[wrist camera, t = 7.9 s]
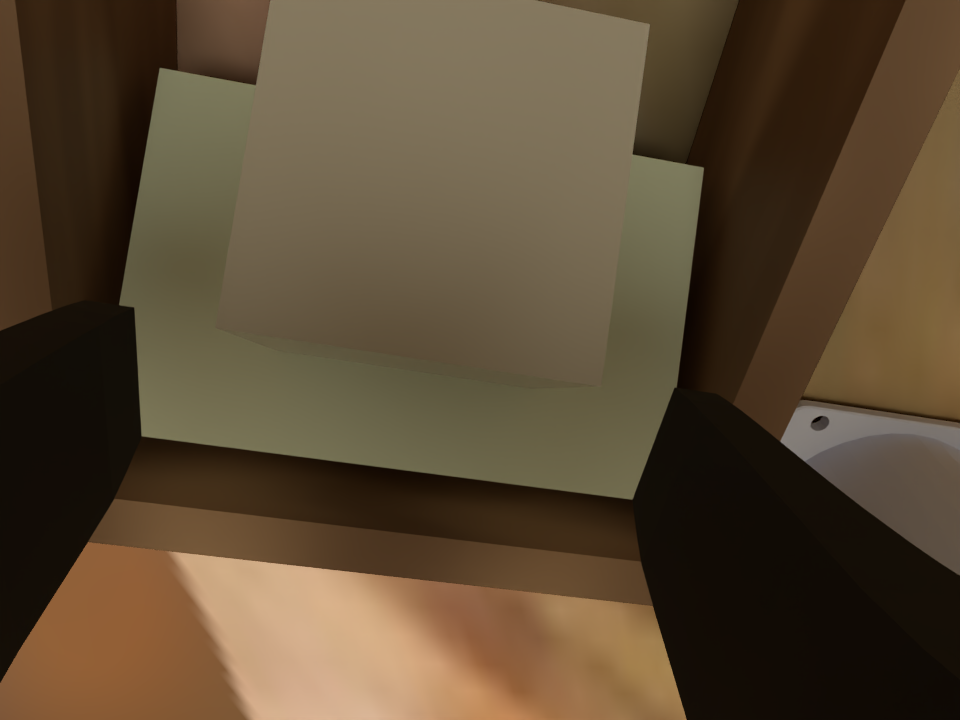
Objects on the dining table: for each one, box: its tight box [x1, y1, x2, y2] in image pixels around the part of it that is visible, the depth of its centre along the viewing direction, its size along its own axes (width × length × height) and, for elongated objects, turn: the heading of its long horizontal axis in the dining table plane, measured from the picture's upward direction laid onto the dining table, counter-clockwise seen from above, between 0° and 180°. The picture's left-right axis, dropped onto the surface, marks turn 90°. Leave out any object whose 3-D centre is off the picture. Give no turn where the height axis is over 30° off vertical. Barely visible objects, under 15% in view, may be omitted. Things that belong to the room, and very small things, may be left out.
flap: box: [119, 68, 704, 500], centre depth 15 cm, size 11×7×1 cm
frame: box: [0, 0, 960, 606], centre depth 14 cm, size 14×14×7 cm
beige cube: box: [215, 0, 650, 389], centre depth 12 cm, size 5×5×5 cm
